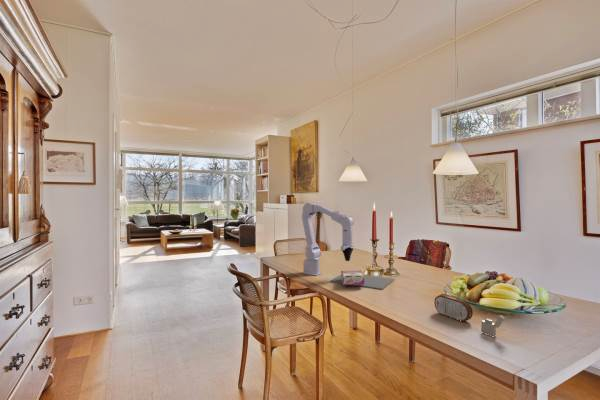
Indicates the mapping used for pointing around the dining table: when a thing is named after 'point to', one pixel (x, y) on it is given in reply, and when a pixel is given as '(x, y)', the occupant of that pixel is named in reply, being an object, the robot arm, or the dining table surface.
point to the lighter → (491, 325)
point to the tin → (453, 307)
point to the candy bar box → (352, 278)
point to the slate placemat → (370, 281)
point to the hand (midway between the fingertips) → (347, 260)
